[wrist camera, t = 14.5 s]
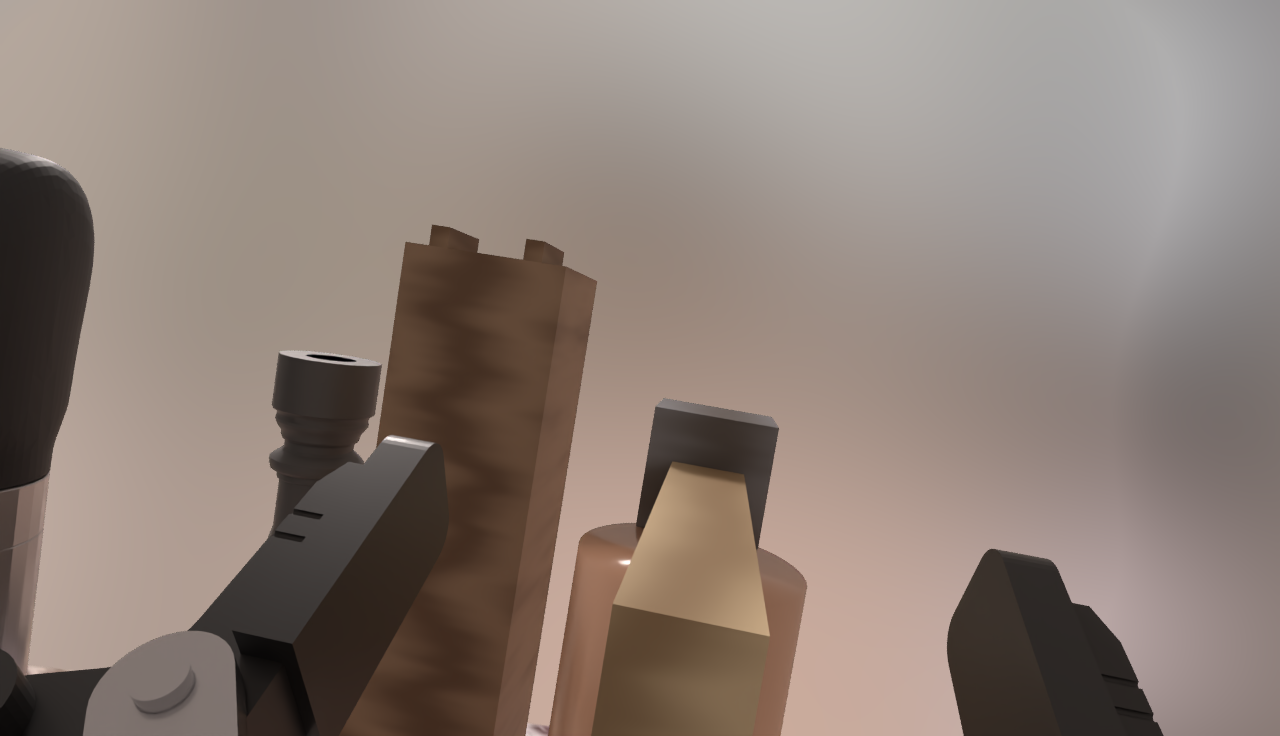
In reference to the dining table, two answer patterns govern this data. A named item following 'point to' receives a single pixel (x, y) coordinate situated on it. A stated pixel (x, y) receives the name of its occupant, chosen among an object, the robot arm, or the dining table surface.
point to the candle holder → (318, 419)
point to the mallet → (692, 582)
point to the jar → (589, 621)
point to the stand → (480, 477)
